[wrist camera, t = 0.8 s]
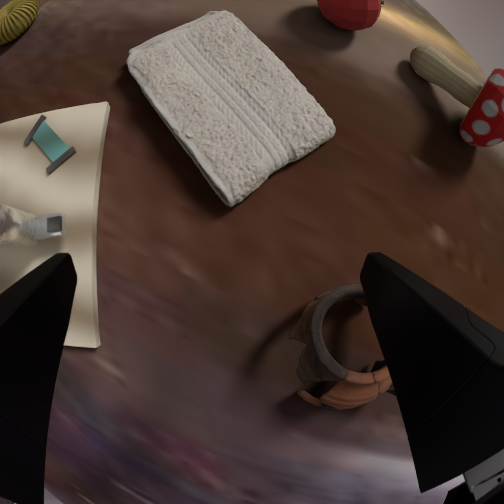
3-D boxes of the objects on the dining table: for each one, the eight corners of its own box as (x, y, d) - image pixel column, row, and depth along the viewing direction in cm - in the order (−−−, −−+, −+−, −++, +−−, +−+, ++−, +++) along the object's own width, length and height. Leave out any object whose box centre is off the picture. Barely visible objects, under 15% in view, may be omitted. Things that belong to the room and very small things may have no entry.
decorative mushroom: (420, 4, 18) (544, 93, 14) (436, 31, 25) (528, 100, 21) (378, 83, 26) (492, 174, 22) (403, 91, 33) (488, 160, 29)
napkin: (100, 345, 21) (95, 349, 20) (-40, 326, 18) (-47, 327, 17) (110, 107, 22) (106, 100, 21) (-27, 137, 19) (-33, 133, 18)
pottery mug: (259, 391, 23) (276, 372, 16) (298, 299, 28) (323, 250, 21) (382, 433, 21) (439, 425, 14) (406, 342, 26) (455, 308, 20)
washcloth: (221, 19, 24) (223, -1, 21) (335, 139, 25) (349, 125, 22) (119, 69, 23) (112, 51, 20) (228, 213, 24) (231, 205, 20)
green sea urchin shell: (-25, 30, 16) (17, -12, 17) (-13, 45, 20) (27, 4, 21) (-6, 38, 16) (43, -8, 17) (8, 55, 20) (52, 11, 21)
